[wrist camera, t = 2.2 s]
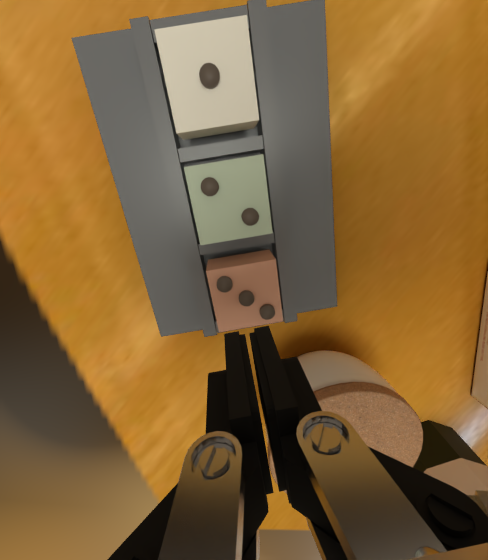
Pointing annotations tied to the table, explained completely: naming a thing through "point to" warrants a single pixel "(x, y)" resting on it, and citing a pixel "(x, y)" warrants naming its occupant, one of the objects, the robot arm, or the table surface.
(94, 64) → the board
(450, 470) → the wine bottle
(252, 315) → the tile three
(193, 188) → the tile two
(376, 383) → the lidded jar
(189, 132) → the tile one
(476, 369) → the coffeecake box
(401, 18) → the table surface
